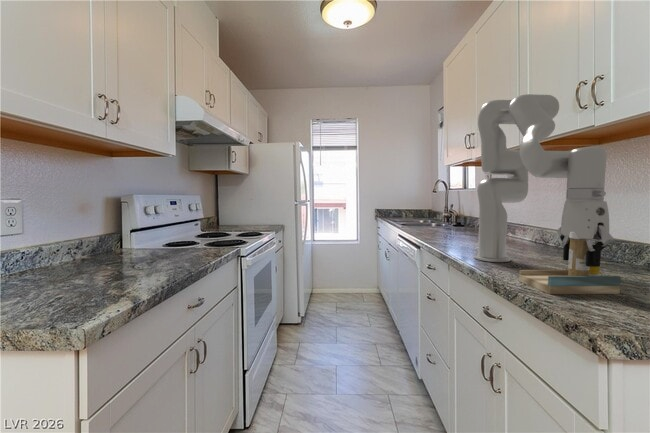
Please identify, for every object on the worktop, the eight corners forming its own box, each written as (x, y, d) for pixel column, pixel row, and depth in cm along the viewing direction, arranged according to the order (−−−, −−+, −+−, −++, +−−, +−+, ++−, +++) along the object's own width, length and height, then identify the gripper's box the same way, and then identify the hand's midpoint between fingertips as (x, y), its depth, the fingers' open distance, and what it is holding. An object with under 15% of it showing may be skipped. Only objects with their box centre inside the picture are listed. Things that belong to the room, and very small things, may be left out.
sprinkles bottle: (585, 284, 78) (588, 232, 77) (564, 280, 82) (566, 231, 81) (592, 281, 80) (594, 231, 80) (571, 277, 84) (573, 229, 83)
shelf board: (518, 280, 89) (519, 266, 88) (579, 280, 89) (580, 265, 89) (549, 294, 77) (550, 277, 76) (619, 293, 77) (620, 276, 77)
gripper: (632, 195, 71) (627, 271, 72) (571, 195, 88) (567, 256, 89) (601, 195, 71) (596, 271, 72) (545, 195, 88) (542, 256, 89)
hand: (580, 262), depth 80 cm, fingers open, 6 cm apart
